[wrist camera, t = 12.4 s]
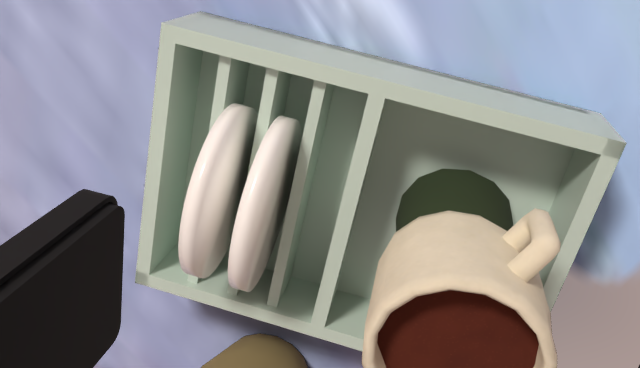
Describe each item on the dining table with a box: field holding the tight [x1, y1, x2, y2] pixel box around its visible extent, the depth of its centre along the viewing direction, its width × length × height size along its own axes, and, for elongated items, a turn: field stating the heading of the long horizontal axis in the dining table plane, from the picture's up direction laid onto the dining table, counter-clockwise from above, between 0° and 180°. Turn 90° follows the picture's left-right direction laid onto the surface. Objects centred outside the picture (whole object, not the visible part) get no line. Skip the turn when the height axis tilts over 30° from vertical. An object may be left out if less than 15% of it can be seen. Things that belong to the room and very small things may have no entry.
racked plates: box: [178, 103, 301, 292], centre depth 31 cm, size 3×9×9 cm, turn 168°
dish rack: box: [135, 11, 626, 352], centre depth 33 cm, size 22×15×5 cm
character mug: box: [362, 168, 561, 368], centre depth 28 cm, size 11×7×13 cm, turn 144°
